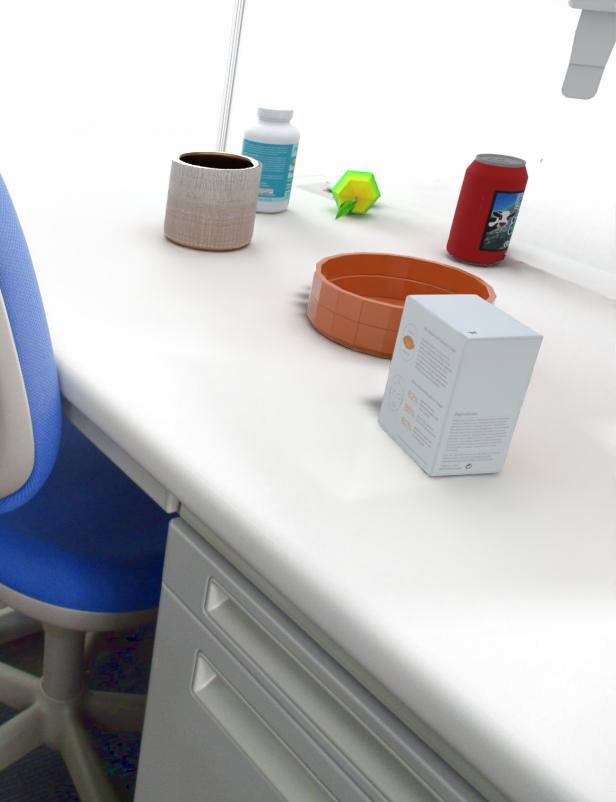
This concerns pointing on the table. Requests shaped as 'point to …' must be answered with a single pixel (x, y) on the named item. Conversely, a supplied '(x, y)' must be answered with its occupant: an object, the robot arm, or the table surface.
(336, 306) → the pan
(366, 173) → the apple
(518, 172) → the beverage can
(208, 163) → the planter
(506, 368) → the small box
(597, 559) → the table surface
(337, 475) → the table surface
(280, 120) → the pill bottle
